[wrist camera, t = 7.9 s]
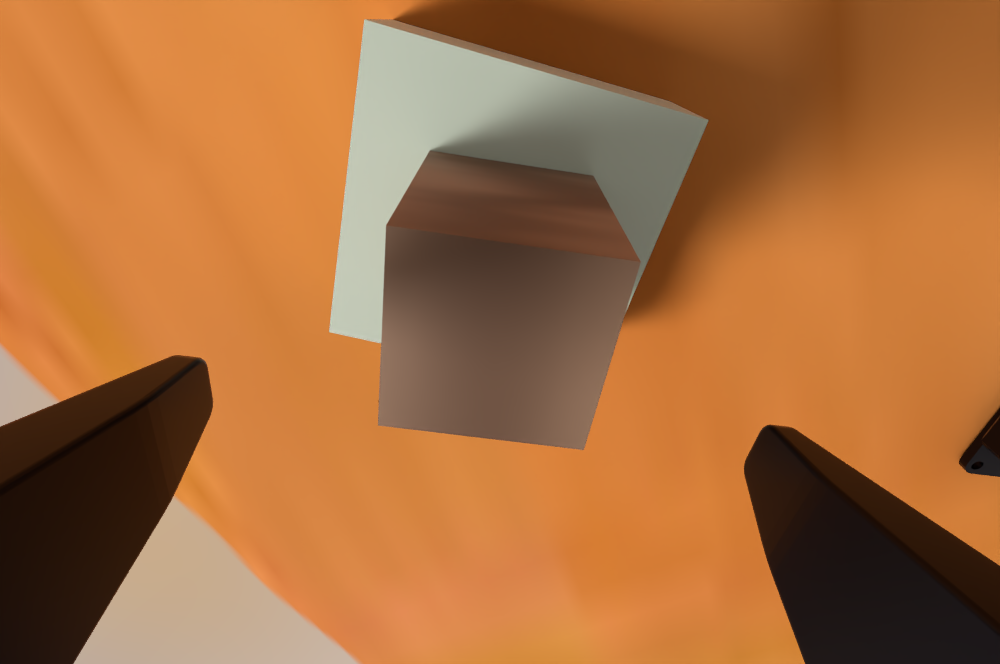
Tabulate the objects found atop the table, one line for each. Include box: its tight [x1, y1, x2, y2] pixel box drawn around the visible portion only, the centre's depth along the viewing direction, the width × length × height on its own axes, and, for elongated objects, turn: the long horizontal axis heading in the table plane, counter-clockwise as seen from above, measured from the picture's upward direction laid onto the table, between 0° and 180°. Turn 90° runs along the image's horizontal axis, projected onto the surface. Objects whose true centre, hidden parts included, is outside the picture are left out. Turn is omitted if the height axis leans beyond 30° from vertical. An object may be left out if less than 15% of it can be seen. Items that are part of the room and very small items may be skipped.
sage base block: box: [329, 19, 709, 343], centre depth 17 cm, size 9×9×4 cm
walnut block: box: [378, 151, 641, 450], centre depth 13 cm, size 4×4×6 cm
